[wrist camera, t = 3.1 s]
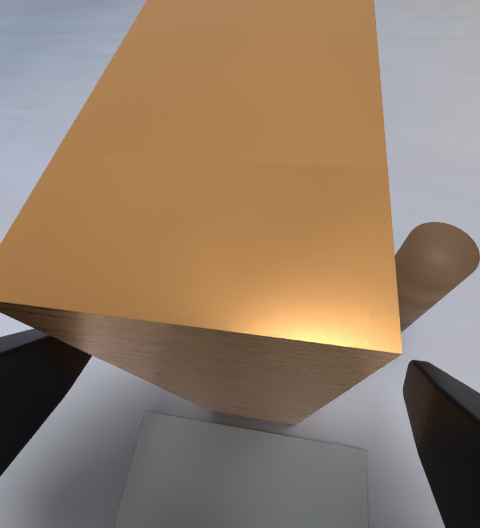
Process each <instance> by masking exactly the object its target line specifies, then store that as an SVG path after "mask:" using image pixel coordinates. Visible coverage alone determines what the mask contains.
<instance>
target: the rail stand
mask: <svg viewBox="0 0 480 528" xmlns="http://www.w3.org/2000/svg"><path fill="white" fill-rule="evenodd" d="M479 260H480V255H479V250H478V248H477V245H476V244H475V242H474V241H473V240H472V238H471V237H470V236H469V235H468V234H466V233H465V232H464V231H462V230H461V229H459V228H457V227H455V226H452V225H449V224H446V223H440V222H429V223H424V224H421V225H419V226H417V227H416V228H414V229H413V230H412V231H411V232H410V234H409V235H408V237H407V238H406V240H405V241H404V243H403V244H402V246H401V247H400V249H399V250H398V252H397V253H396V255H395V267H396V280H397V292H398V304H399V317H400V329H401V332H402V331H404V330H405V329H406V328H407V327H408V326H410V325H411V324H412V323H413V322H414V321H415V320H417V319H418V318H419V317H420V316H421V315H423V314H424V313H425V312H426V311H427V310H429V309H430V308H431V307H432V306H433V305H435V304H436V303H437V302H438V301H439V300H441V299H442V298H443V297H444V296H445V295H447V294H448V293H449V292H450V291H451V290H453V289H454V288H455V287H456V286H457V285H458V284H460V283H461V282H462V281H463V280H464V279H466V278H467V277H468V276H469V275H470V274H472V273H473V272H474V271H475V270H476V268H477V267H478V264H479Z"/></svg>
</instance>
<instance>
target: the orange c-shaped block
mask: <svg viewBox="0 0 480 528" xmlns="http://www.w3.org/2000/svg"><path fill="white" fill-rule="evenodd" d="M0 312H1V313H3V314H5V315H7V316H9V317H11V318H14V319H16V320H18V321H20V322H22V323H24V324H26V325H29V326H31V327H33V328H35V329H37V330H39V331H41V332H43V333H46V334H48V335H50V336H52V337H54V338H56V339H58V340H61V341H63V342H65V343H67V344H69V345H71V346H73V347H76V348H78V349H80V350H82V351H84V352H86V353H88V354H90V355H93V356H95V357H97V358H99V359H101V360H103V361H105V362H108V363H110V364H112V365H114V366H116V367H118V368H120V369H123V370H125V371H127V372H129V373H131V374H133V375H135V376H137V377H140V378H142V379H144V380H146V381H148V382H150V383H152V384H155V385H157V386H159V387H161V388H163V389H165V390H167V391H170V392H172V393H174V394H176V395H178V396H180V397H182V398H184V399H187V400H189V401H191V402H193V403H195V404H197V405H199V406H202V407H204V408H206V409H208V410H210V411H214V412H220V413H226V414H232V415H238V416H244V417H249V418H255V419H261V420H267V421H273V422H279V423H285V424H290V425H296V424H298V423H299V422H301V421H302V420H304V419H305V418H307V417H308V416H310V415H311V414H313V413H314V412H316V411H317V410H319V409H320V408H322V407H323V406H325V405H326V404H328V403H329V402H331V401H332V400H334V399H335V398H337V397H338V396H340V395H341V394H343V393H344V392H346V391H347V390H349V389H350V388H352V387H353V386H355V385H356V384H358V383H359V382H361V381H362V380H364V379H365V378H367V377H368V376H370V375H371V374H373V373H374V372H376V371H377V370H379V369H380V368H382V367H383V366H385V365H386V364H388V363H389V362H391V361H392V360H394V359H395V358H397V357H398V356H400V355H401V354H402V341H401V329H400V317H399V304H398V292H397V280H396V267H395V255H394V242H393V230H392V218H391V205H390V193H389V181H388V168H387V156H386V143H385V131H384V119H383V106H382V94H381V82H380V69H379V57H378V44H377V32H376V20H375V7H374V0H147V1H146V3H145V5H144V6H143V8H142V10H141V11H140V13H139V15H138V16H137V18H136V20H135V21H134V23H133V25H132V26H131V28H130V30H129V31H128V33H127V35H126V36H125V38H124V40H123V41H122V43H121V45H120V46H119V48H118V50H117V51H116V53H115V55H114V56H113V58H112V60H111V61H110V63H109V65H108V66H107V68H106V70H105V71H104V73H103V75H102V76H101V78H100V80H99V81H98V83H97V85H96V86H95V88H94V90H93V91H92V93H91V95H90V96H89V98H88V100H87V101H86V103H85V105H84V106H83V108H82V110H81V111H80V113H79V115H78V116H77V118H76V120H75V121H74V123H73V125H72V126H71V128H70V129H69V131H68V133H67V134H66V136H65V138H64V139H63V141H62V143H61V144H60V146H59V148H58V149H57V151H56V153H55V154H54V156H53V158H52V159H51V161H50V163H49V164H48V166H47V168H46V169H45V171H44V173H43V174H42V176H41V178H40V179H39V181H38V183H37V184H36V186H35V188H34V189H33V191H32V193H31V194H30V196H29V198H28V199H27V201H26V203H25V204H24V206H23V208H22V209H21V211H20V213H19V214H18V216H17V218H16V219H15V221H14V223H13V224H12V226H11V228H10V229H9V231H8V233H7V234H6V236H5V238H4V239H3V241H2V243H1V244H0Z"/></svg>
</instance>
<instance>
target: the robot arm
mask: <svg viewBox="0 0 480 528" xmlns="http://www.w3.org/2000/svg"><path fill="white" fill-rule="evenodd" d="M91 357H92V355H90V354H88V353H86V352H84V351H82V350H80V349H78V348H76V347H73V346H71V345H69V344H67V343H65V342H63V341H61V340H58V339H56V338H54V337H52V336H50V335H48V334H46V333H43V332H41V331H39V330H37V329H31V330H27V331H23V332H19V333H15V334H11V335H7V336H3V337H0V476H1V475H2V474H3V472H4V471H5V470H6V469H7V468H8V466H9V465H10V464H11V463H12V461H13V460H14V459H15V458H16V456H17V455H18V454H19V453H20V451H21V450H22V449H23V448H24V446H25V445H26V444H27V443H28V441H29V440H30V439H31V438H32V436H33V435H34V434H35V433H36V432H37V430H38V429H39V428H40V427H41V425H42V424H43V423H44V422H45V420H46V419H47V418H48V417H49V415H50V414H51V413H52V412H53V410H54V409H55V408H56V407H57V405H58V404H59V403H60V402H61V401H62V399H63V398H64V397H65V395H66V394H67V393H68V391H69V390H70V388H71V387H72V386H73V384H74V383H75V381H76V380H77V378H78V376H79V375H80V373H81V372H82V370H83V369H84V367H85V366H86V364H87V363H88V361H89V360H90V358H91ZM403 396H404V400H405V404H406V408H407V412H408V416H409V420H410V424H411V428H412V432H413V436H414V440H415V444H416V448H417V451H418V454H419V457H420V460H421V463H422V466H423V468H424V471H425V474H426V477H427V479H428V482H429V485H430V487H431V490H432V493H433V495H434V498H435V501H436V504H437V506H438V509H439V512H440V514H441V517H442V520H443V523H444V525H445V528H480V393H478V392H477V391H475V390H473V389H472V388H470V387H468V386H467V385H465V384H464V383H462V382H460V381H459V380H457V379H455V378H454V377H452V376H450V375H449V374H447V373H446V372H444V371H442V370H441V369H439V368H437V367H436V366H434V365H432V364H431V363H429V362H426V361H418V360H412V361H410V363H409V364H408V368H407V373H406V377H405V381H404V385H403Z"/></svg>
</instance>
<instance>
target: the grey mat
mask: <svg viewBox="0 0 480 528" xmlns="http://www.w3.org/2000/svg"><path fill="white" fill-rule="evenodd" d="M113 528H368V488H367V450H364V449H358V448H353V447H347V446H341V445H335V444H330V443H324V442H318V441H313V440H307V439H301V438H296V437H290V436H284V435H279V434H273V433H267V432H262V431H256V430H250V429H245V428H239V427H233V426H228V425H222V424H216V423H211V422H205V421H199V420H194V419H188V418H182V417H177V416H171V415H165V414H160V413H154V412H148V411H145V413H144V417H143V420H142V424H141V428H140V431H139V435H138V439H137V442H136V446H135V450H134V453H133V457H132V461H131V464H130V468H129V472H128V475H127V479H126V483H125V486H124V490H123V494H122V497H121V501H120V505H119V508H118V512H117V516H116V520H115V523H114V527H113Z"/></svg>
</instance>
